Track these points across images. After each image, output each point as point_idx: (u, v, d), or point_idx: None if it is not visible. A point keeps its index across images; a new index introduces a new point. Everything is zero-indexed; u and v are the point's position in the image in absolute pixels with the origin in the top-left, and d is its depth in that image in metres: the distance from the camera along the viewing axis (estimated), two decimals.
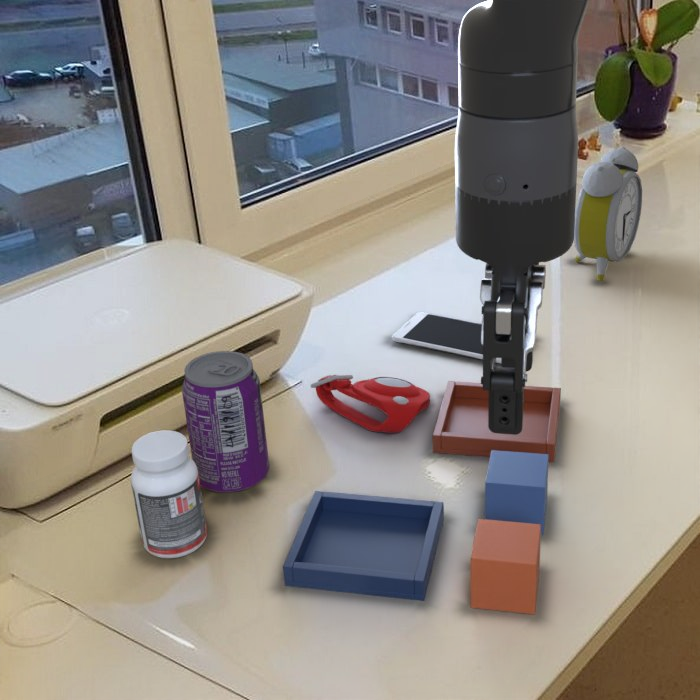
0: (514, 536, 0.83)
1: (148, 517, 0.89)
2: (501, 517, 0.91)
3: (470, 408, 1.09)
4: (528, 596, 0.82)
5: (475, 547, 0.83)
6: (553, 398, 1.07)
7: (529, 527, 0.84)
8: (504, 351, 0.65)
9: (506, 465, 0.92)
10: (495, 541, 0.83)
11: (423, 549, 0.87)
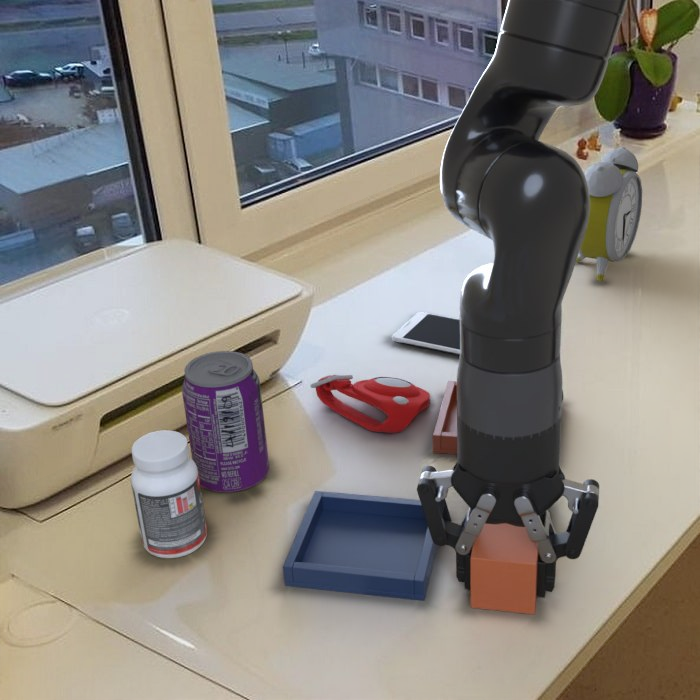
0: (514, 536, 0.83)
1: (148, 517, 0.89)
2: None
3: None
4: (527, 596, 0.82)
5: (475, 547, 0.83)
6: None
7: None
8: None
9: None
10: (495, 541, 0.83)
11: (423, 549, 0.87)
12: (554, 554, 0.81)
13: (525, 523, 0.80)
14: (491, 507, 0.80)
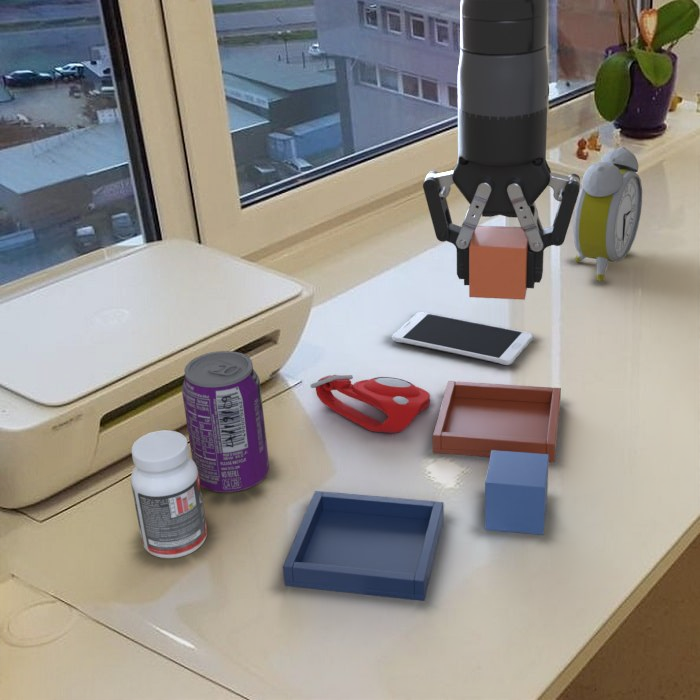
0: (507, 234, 0.96)
1: (148, 518, 0.89)
2: (501, 517, 0.91)
3: (470, 408, 1.09)
4: (518, 281, 0.95)
5: (473, 240, 0.95)
6: (553, 398, 1.07)
7: (520, 229, 0.97)
8: None
9: (506, 465, 0.92)
10: (490, 237, 0.96)
11: (423, 549, 0.87)
12: (541, 242, 0.94)
13: (516, 210, 0.92)
14: (487, 196, 0.92)
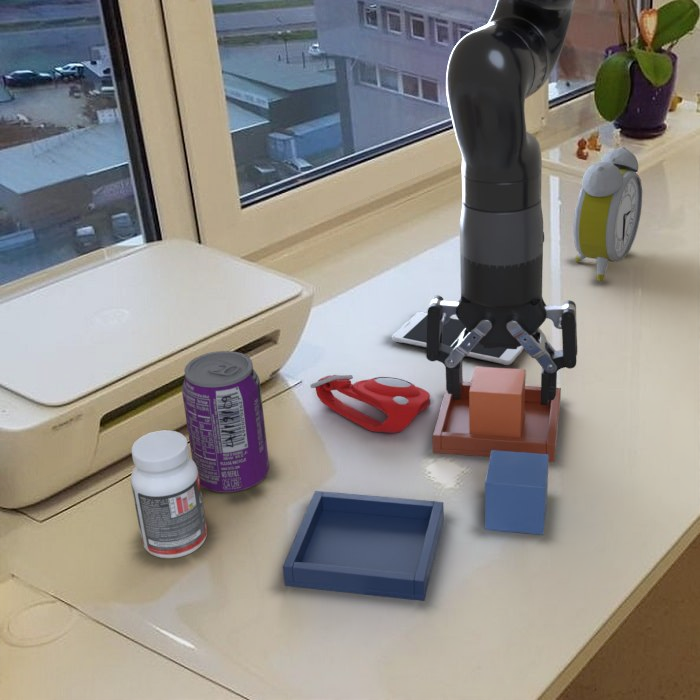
0: (504, 377, 1.04)
1: (148, 518, 0.89)
2: (501, 517, 0.91)
3: None
4: (514, 422, 1.03)
5: (472, 384, 1.04)
6: None
7: (516, 371, 1.05)
8: None
9: (506, 465, 0.92)
10: (488, 380, 1.04)
11: (423, 549, 0.87)
12: (554, 364, 1.00)
13: (521, 343, 1.00)
14: (488, 331, 1.00)
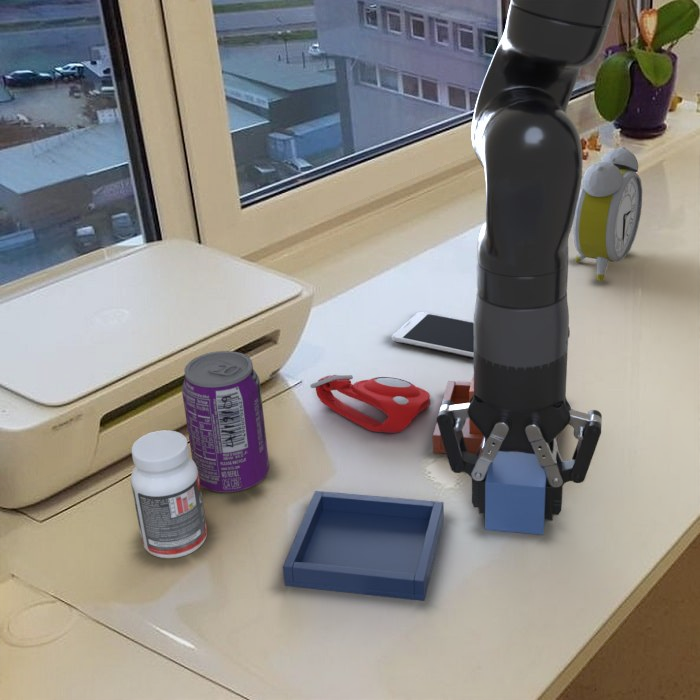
0: None
1: (148, 517, 0.89)
2: (501, 517, 0.91)
3: None
4: None
5: (472, 384, 1.04)
6: None
7: None
8: None
9: (506, 465, 0.92)
10: None
11: (423, 549, 0.87)
12: (561, 479, 0.90)
13: (535, 449, 0.88)
14: (504, 435, 0.88)
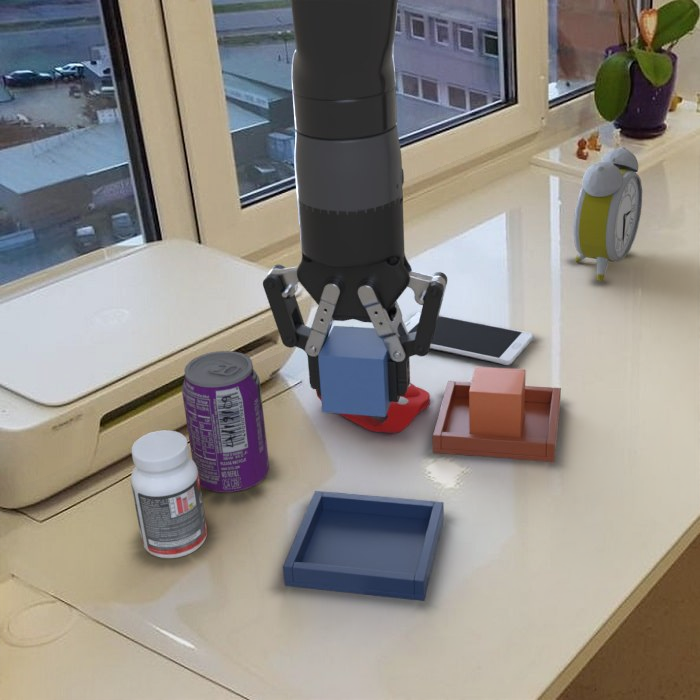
0: (504, 377, 1.04)
1: (148, 517, 0.89)
2: (338, 397, 0.81)
3: None
4: (514, 422, 1.03)
5: (472, 384, 1.04)
6: (553, 398, 1.07)
7: (516, 371, 1.05)
8: None
9: (345, 339, 0.82)
10: (488, 380, 1.04)
11: (423, 549, 0.87)
12: (403, 351, 0.79)
13: (371, 316, 0.78)
14: (335, 298, 0.78)
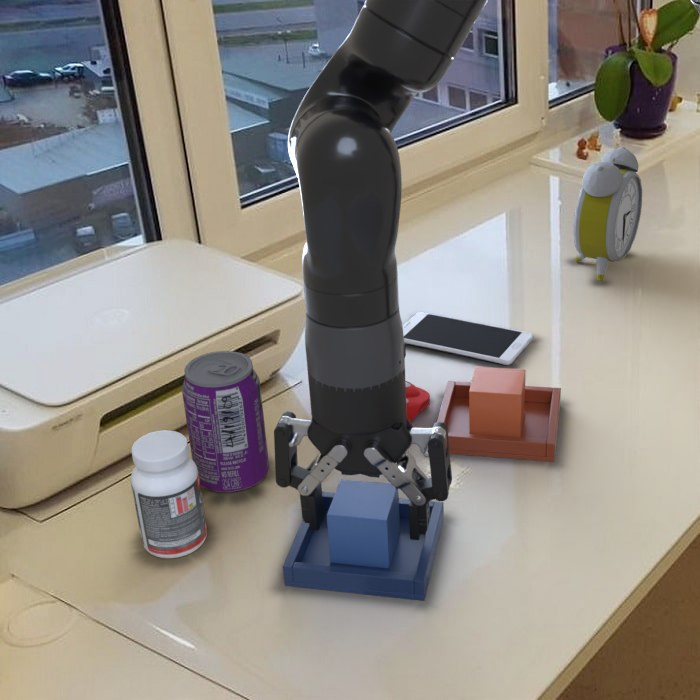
0: (504, 377, 1.04)
1: (148, 518, 0.89)
2: (345, 550, 0.88)
3: None
4: (514, 422, 1.03)
5: (472, 384, 1.04)
6: (553, 398, 1.07)
7: (516, 371, 1.05)
8: None
9: (352, 496, 0.88)
10: (488, 380, 1.04)
11: (423, 549, 0.87)
12: (422, 495, 0.85)
13: (383, 472, 0.84)
14: (343, 458, 0.84)
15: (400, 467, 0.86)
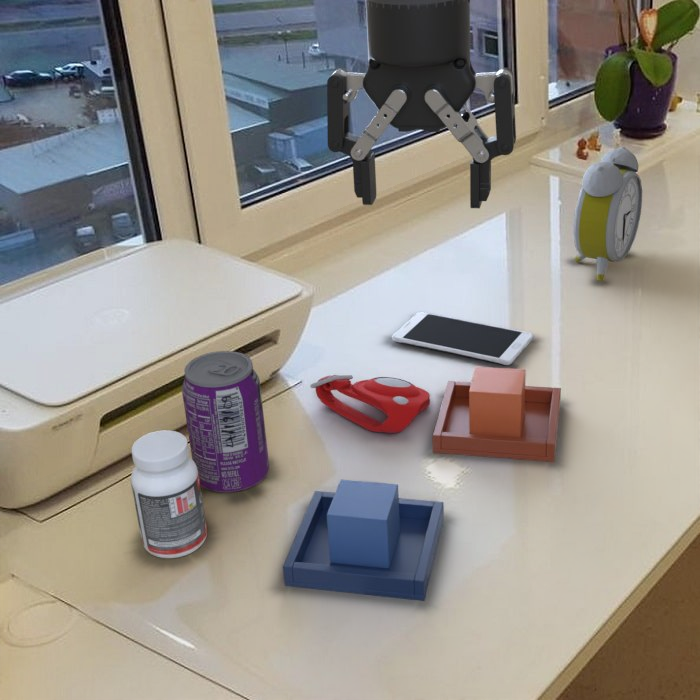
0: (504, 377, 1.04)
1: (148, 517, 0.89)
2: (345, 550, 0.88)
3: None
4: (514, 422, 1.03)
5: (472, 384, 1.04)
6: (553, 398, 1.07)
7: (516, 371, 1.05)
8: None
9: (352, 496, 0.88)
10: (488, 380, 1.04)
11: (423, 549, 0.87)
12: (485, 149, 0.80)
13: (444, 121, 0.79)
14: (402, 105, 0.79)
15: None
